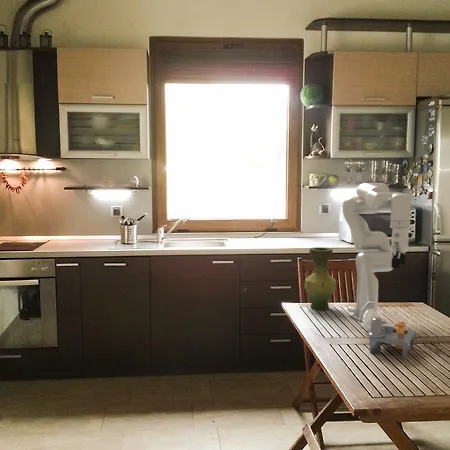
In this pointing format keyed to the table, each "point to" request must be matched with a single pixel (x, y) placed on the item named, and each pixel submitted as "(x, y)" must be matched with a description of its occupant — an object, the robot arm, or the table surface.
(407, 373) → the table surface
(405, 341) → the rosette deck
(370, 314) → the hand grenade
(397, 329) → the pin
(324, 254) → the vase
